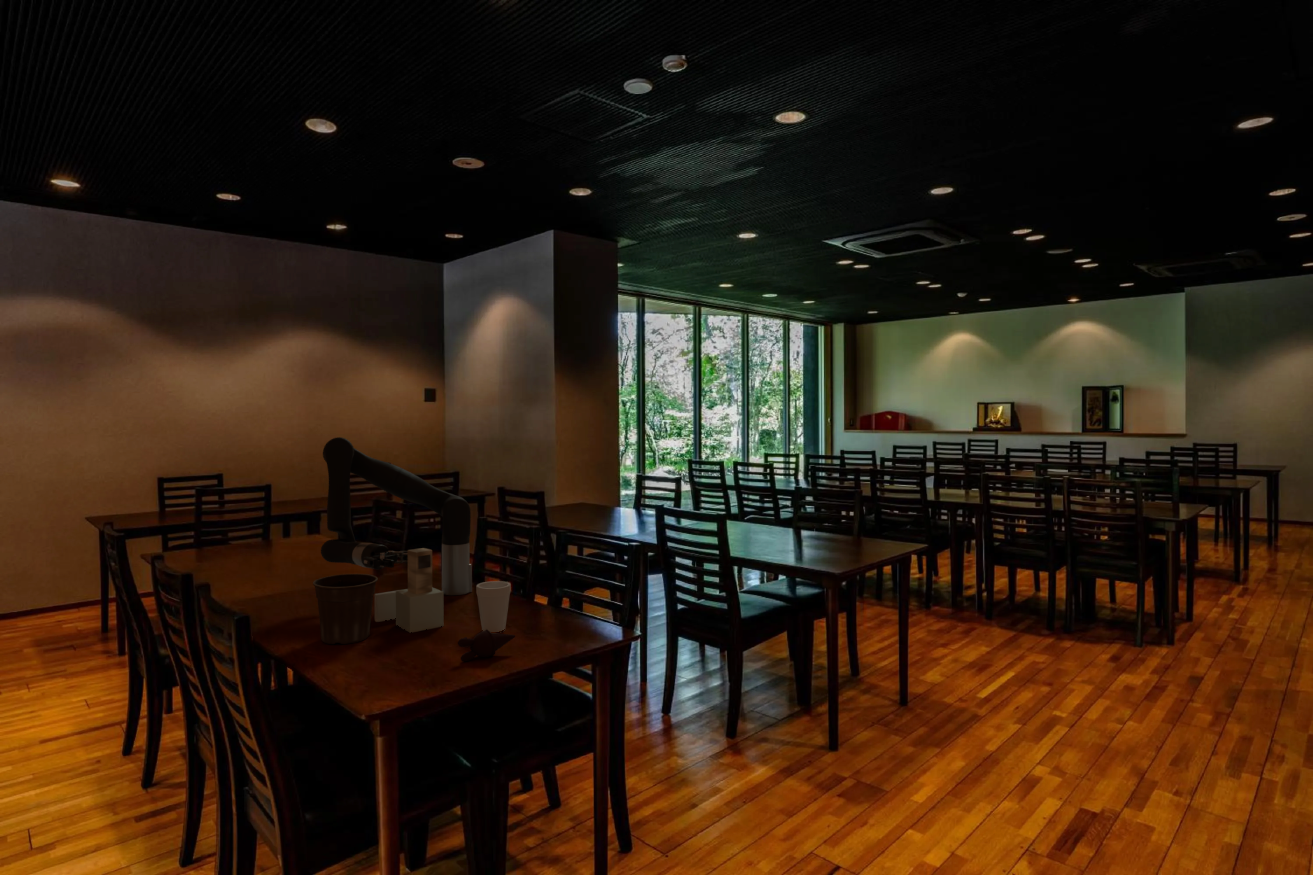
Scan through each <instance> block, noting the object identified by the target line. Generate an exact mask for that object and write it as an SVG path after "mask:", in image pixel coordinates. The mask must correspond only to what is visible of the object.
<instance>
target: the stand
mask: <svg viewBox="0 0 1313 875" xmlns="http://www.w3.org/2000/svg"><path fill="white" fill-rule="evenodd" d="M398 590H399V591H397V590H395V591H396V619H395V626H397V625H398V626H399V628H400V627H401V628H400V629H402V630H404V629H405V630H404V631H406V632H408V633H409V634H411V632H412V633H417V632H421V631H425V630H426V629H427V630H432V629H437V628H442V627H444V626H445V625H444V620H445V619H444V617H445V616H444V608H445V607H444V600H445V599H444V595H445V594H444V592H443V591H442V590H440V589H438V588H435V587H433V586H432V591H431V592H425V593H420V594H414V593H411V592H409V591H408V588H405V590H403V589H398ZM398 626H397V627H398ZM441 626H442V627H441Z"/></svg>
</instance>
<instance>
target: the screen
mask: <svg viewBox="0 0 1313 875" xmlns="http://www.w3.org/2000/svg"><path fill="white" fill-rule="evenodd" d="M405 589H406V588H405ZM405 589H402V590H405ZM399 590H400V589H397V590H392V591H385V592H379V593H374V622H376V623H379V622H380V623H381V622H385V620H387V621H391V620H390V619H392V620H396V619H395V618H396V591H399Z"/></svg>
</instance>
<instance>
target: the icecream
mask: <svg viewBox="0 0 1313 875" xmlns="http://www.w3.org/2000/svg"><path fill="white" fill-rule="evenodd" d="M514 638H516V635H515V634H509V633H507V634H506V633H491V632H490V631H488V630H487V629H486V630H485V631H482V630H481V632H478V633H477V634H475V635H474V637H473V638H468V637H467V636H465V637H463V638H460V639H458V641H457V645H458V646H459V647H461V648H469V650H470V651H466V652H465V653H463V654H462V655H461V656H460V661H461V662H463V663H465V662H469V661H472V660H473V659H474V658H475V657H479V658H480V657H481V658H490V657H492V656H495V655H496V652H497V651H498V650H499V649H501V648H502V647H503V646H504V645H506V644H508V643H509V642H510V641H512V640H513V639H514Z"/></svg>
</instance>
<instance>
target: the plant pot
mask: <svg viewBox="0 0 1313 875" xmlns="http://www.w3.org/2000/svg"><path fill="white" fill-rule="evenodd" d="M377 582H378V577H377V576H376V575H372V574H368V573H342V574H334V575H328V576H325V577H320V578H318V579H317V578H316V579H315V580H314V581H313V582H312V585H313V586H314V589H315V598H316V599H317V606H318V615H319V616H318V618H319V627H320V628H319V629H320V631H319V632H320V640H321V641H322V643H324V644H327V645H335V644H337V643H338V644H340V645H347V644H355V642H356V643H358V642H361V641H364V640H366V639H368V637H369V636H370V632H371V621H372V613H373V612H372V610H373V602H374V600H373V599H374V595H375V594H376V583H377Z"/></svg>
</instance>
